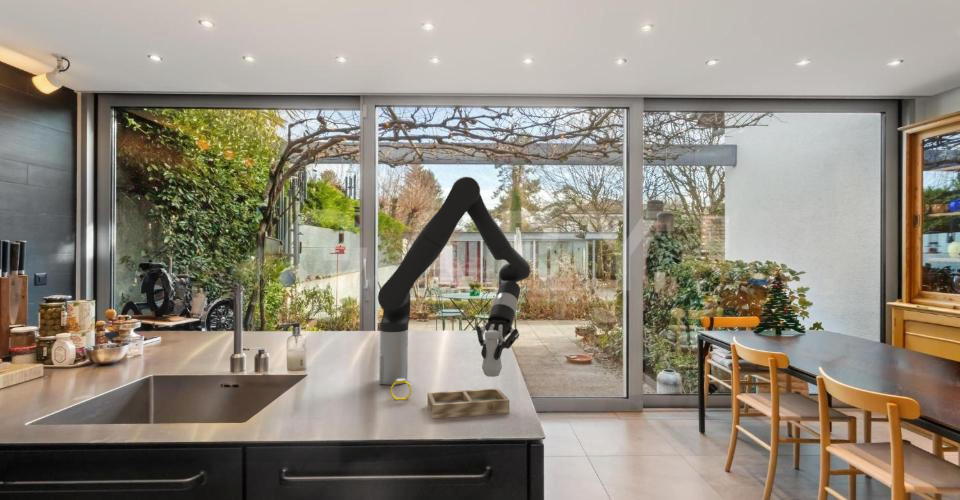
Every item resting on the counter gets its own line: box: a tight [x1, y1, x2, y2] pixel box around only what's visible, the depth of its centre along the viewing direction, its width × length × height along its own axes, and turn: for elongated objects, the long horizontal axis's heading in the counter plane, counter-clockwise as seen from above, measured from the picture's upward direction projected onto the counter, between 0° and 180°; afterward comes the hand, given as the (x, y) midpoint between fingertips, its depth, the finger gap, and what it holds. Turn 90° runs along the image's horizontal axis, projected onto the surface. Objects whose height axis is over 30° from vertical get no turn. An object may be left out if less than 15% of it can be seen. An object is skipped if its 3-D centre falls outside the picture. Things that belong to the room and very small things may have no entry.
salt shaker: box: [481, 330, 503, 378], centre depth 138 cm, size 6×6×13 cm
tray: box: [426, 387, 510, 419], centre depth 131 cm, size 21×11×4 cm, turn 104°
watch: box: [390, 378, 412, 401], centre depth 139 cm, size 6×3×6 cm, turn 97°
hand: (489, 357), depth 136 cm, fingers closed on salt shaker, 3 cm apart
